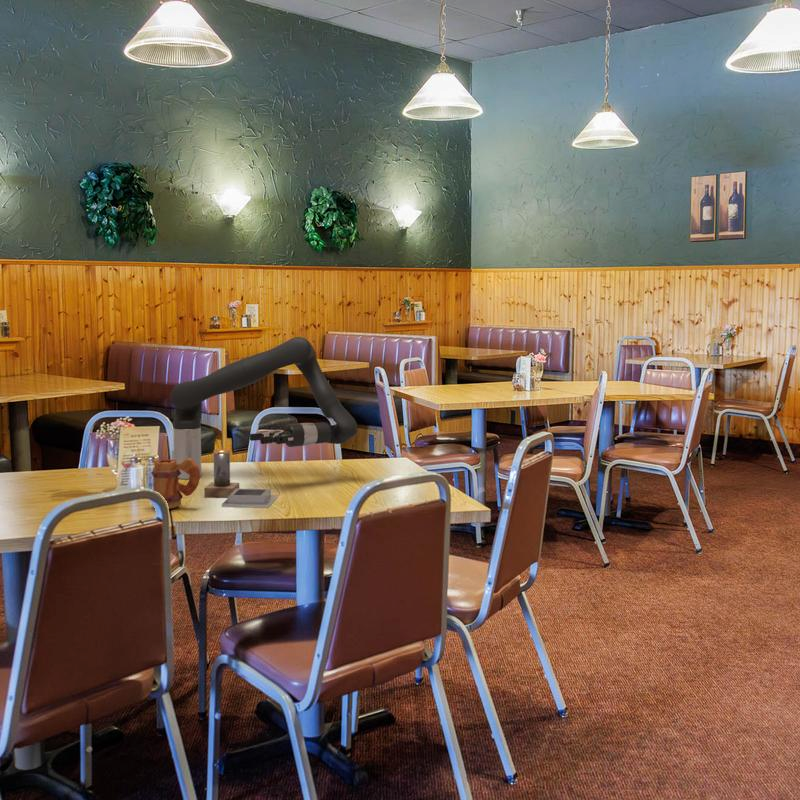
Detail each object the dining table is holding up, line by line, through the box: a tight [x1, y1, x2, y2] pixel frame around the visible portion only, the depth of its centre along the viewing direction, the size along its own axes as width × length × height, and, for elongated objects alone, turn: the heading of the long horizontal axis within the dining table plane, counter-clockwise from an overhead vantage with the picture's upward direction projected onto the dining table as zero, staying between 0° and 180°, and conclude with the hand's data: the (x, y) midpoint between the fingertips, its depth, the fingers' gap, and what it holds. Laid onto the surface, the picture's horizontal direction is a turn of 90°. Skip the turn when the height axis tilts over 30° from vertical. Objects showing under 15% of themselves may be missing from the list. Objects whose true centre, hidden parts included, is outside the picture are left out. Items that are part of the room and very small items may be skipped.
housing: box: [221, 488, 278, 509], centre depth 275 cm, size 14×14×3 cm
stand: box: [203, 481, 240, 499], centre depth 285 cm, size 9×9×3 cm
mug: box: [150, 458, 201, 510], centre depth 265 cm, size 15×8×15 cm, turn 82°
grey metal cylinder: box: [213, 448, 231, 487], centre depth 284 cm, size 5×5×11 cm
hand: (255, 439), depth 289 cm, fingers open, 8 cm apart
